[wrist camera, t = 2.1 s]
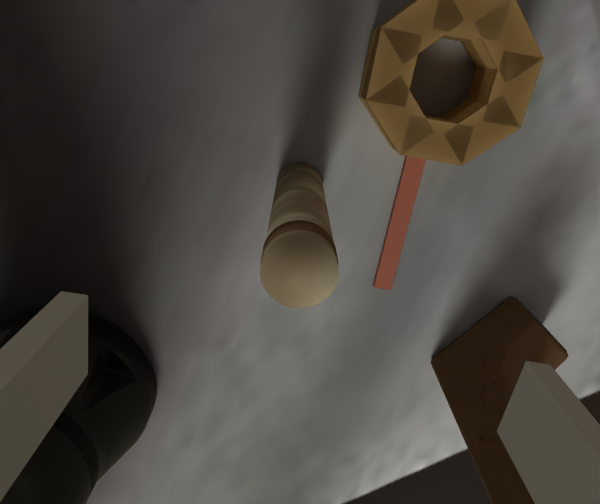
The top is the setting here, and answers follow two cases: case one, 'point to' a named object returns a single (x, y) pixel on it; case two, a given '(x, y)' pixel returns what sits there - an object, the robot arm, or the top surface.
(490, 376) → the wooden block
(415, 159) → the brown thin rod
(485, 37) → the tan faceted ring
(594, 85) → the top surface
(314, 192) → the wooden dowel
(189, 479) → the top surface
